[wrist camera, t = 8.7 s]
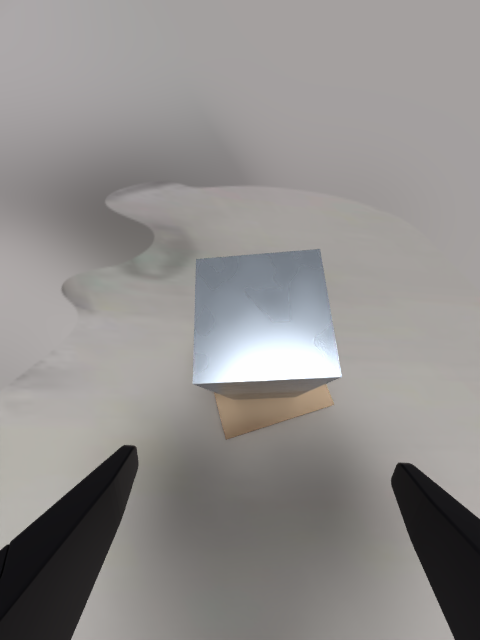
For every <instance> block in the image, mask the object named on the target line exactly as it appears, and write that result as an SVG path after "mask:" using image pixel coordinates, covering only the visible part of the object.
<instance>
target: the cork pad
mask: <svg viewBox="0 0 480 640" xmlns="http://www.w3.org/2000/svg"><path fill="white" fill-rule="evenodd" d="M214 394H215V398H216V402H217V406H218V410H219V414H220V418H221V422H222V426H223V430H224V434H225V438H226V439H229V438H233V437H236V436H239V435H242V434H245V433H248V432H251V431H254V430H257V429H260V428H264V427H267V426H270V425H273V424H276V423H279V422H282V421H285V420H288V419H291V418H295V417H298V416H301V415H304V414H307V413H310V412H313V411H316V410H319V409H322V408H326V407H329V406H332V405H334V402H333V400H332V398H331V395H330V393H329V390H328V388H327V385H326V384H324V385H322V386H320V387H318V388H315V389H313V390H311V391H308V392H306V393H304V394H302V395H299V396H297V397H290V398H266V399H243V400H233V399H230V398H228V397H225V396H223V395H220V394H218V393H215V392H214Z"/></svg>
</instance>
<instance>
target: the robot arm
mask: <svg viewBox="0 0 480 640" xmlns="http://www.w3.org/2000/svg"><path fill="white" fill-rule="evenodd" d="M137 470H138V455H137V448H136V446H134V445H124V446H122V447H121V448H119V449H118V450H117V451H116V452H115V453H114V454H112V455H111V456H110V457H109V458H108V459H107V460H105V461H104V462H103V463H102V464H101V465H100V466H98V467H97V468H96V469H95V470H94V471H93V472H91V473H90V474H89V475H88V476H87V477H86V478H84V479H83V480H82V481H81V482H80V483H79V484H77V485H76V486H75V487H74V488H73V489H72V490H70V491H69V492H68V493H67V494H66V495H65V496H63V497H62V498H61V499H60V500H59V501H58V502H56V503H55V504H54V505H53V506H52V507H51V508H49V509H48V510H47V511H46V512H45V513H44V514H42V515H41V516H40V517H39V518H38V519H36V520H35V521H34V522H33V523H32V524H31V525H29V526H28V527H27V528H26V529H25V530H24V531H22V532H21V533H20V534H19V535H18V536H17V537H15V538H14V539H13V540H12V541H11V542H10V545H9V544H8V545H6V546H5V547H4V548H2V549H1V550H0V640H71V638H72V636H73V633H74V631H75V629H76V626H77V624H78V622H79V619H80V617H81V615H82V612H83V610H84V607H85V605H86V603H87V600H88V598H89V596H90V593H91V591H92V589H93V586H94V584H95V581H96V579H97V577H98V574H99V572H100V570H101V567H102V565H103V563H104V560H105V558H106V555H107V553H108V551H109V548H110V546H111V544H112V541H113V539H114V537H115V534H116V532H117V529H118V527H119V524H120V522H121V519H122V516H123V513H124V511H125V507H126V504H127V501H128V498H129V495H130V492H131V489H132V485H133V482H134V479H135V476H136V473H137ZM391 484H392V488H393V491H394V494H395V497H396V500H397V503H398V505H399V508H400V511H401V514H402V517H403V520H404V523H405V526H406V528H407V531H408V534H409V537H410V539H411V542H412V544H413V546H414V549H415V551H416V553H417V555H418V558H419V560H420V562H421V564H422V567H423V569H424V571H425V573H426V576H427V578H428V580H429V582H430V585H431V587H432V589H433V591H434V594H435V596H436V598H437V600H438V603H439V605H440V607H441V609H442V612H443V614H444V616H445V618H446V621H447V623H448V625H449V627H450V630H451V632H452V634H453V636H454V639H455V640H480V519H479V518H478V517H476V516H475V515H474V514H473V513H472V512H470V511H469V510H468V509H467V508H465V507H464V506H463V505H462V504H461V503H459V502H458V501H457V500H456V499H454V498H453V497H452V496H451V495H449V494H448V493H447V492H446V491H445V490H443V489H442V488H441V487H440V486H438V485H437V484H436V483H435V482H434V481H432V480H431V479H430V478H429V477H427V476H426V475H425V474H424V473H423V472H421V471H420V470H419V469H418V468H416V467H415V466H414V465H412V464H410V463H398V464H397V465H396V468H395V470H394V473H393V476H392V478H391Z"/></svg>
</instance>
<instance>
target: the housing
mask: <svg viewBox="0 0 480 640" xmlns="http://www.w3.org/2000/svg"><path fill="white" fill-rule="evenodd" d="M340 377H342V375H341V369H340V363H339V358H338V352H337V346H336V340H335V334H334V328H333V323H332V317H331V311H330V305H329V299H328V293H327V287H326V282H325V276H324V270H323V264H322V258H321V252H320V249H314V250H302V251H290V252H278V253H265V254H253V255H241V256H229V257H217V258H204V259H196V285H195V324H194V363H193V384H194V385H197V386H200V387H202V388H205V389H207V390H210V391H212V392H215V393H218V394H220V395H223V396H225V397H228V398H230V399H233V400H243V399H266V398H290V397H297V396H299V395H302V394H304V393H306V392H308V391H311V390H313V389H315V388H318V387H320V386H322V385H324V384H327V383H329V382H331V381H333V380H336V379H338V378H340Z"/></svg>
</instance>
